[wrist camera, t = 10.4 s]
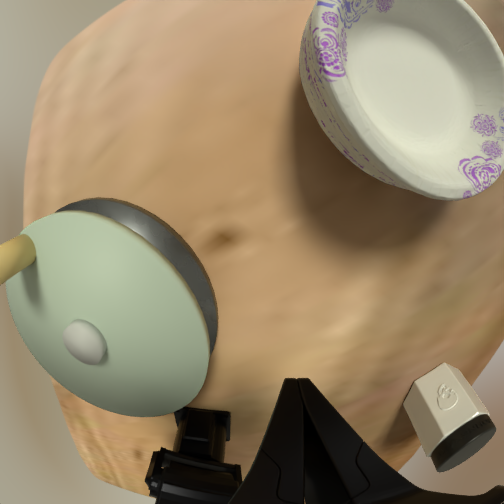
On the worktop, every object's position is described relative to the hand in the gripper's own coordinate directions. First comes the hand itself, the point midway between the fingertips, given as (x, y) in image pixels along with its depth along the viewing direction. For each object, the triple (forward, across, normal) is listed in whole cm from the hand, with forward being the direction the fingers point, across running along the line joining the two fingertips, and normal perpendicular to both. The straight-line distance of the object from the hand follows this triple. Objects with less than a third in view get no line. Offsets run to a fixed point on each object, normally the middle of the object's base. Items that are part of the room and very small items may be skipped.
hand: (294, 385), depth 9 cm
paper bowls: (+13, -8, -14) cm, 21 cm away
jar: (+13, -23, +17) cm, 31 cm away
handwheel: (+9, +14, +6) cm, 18 cm away
